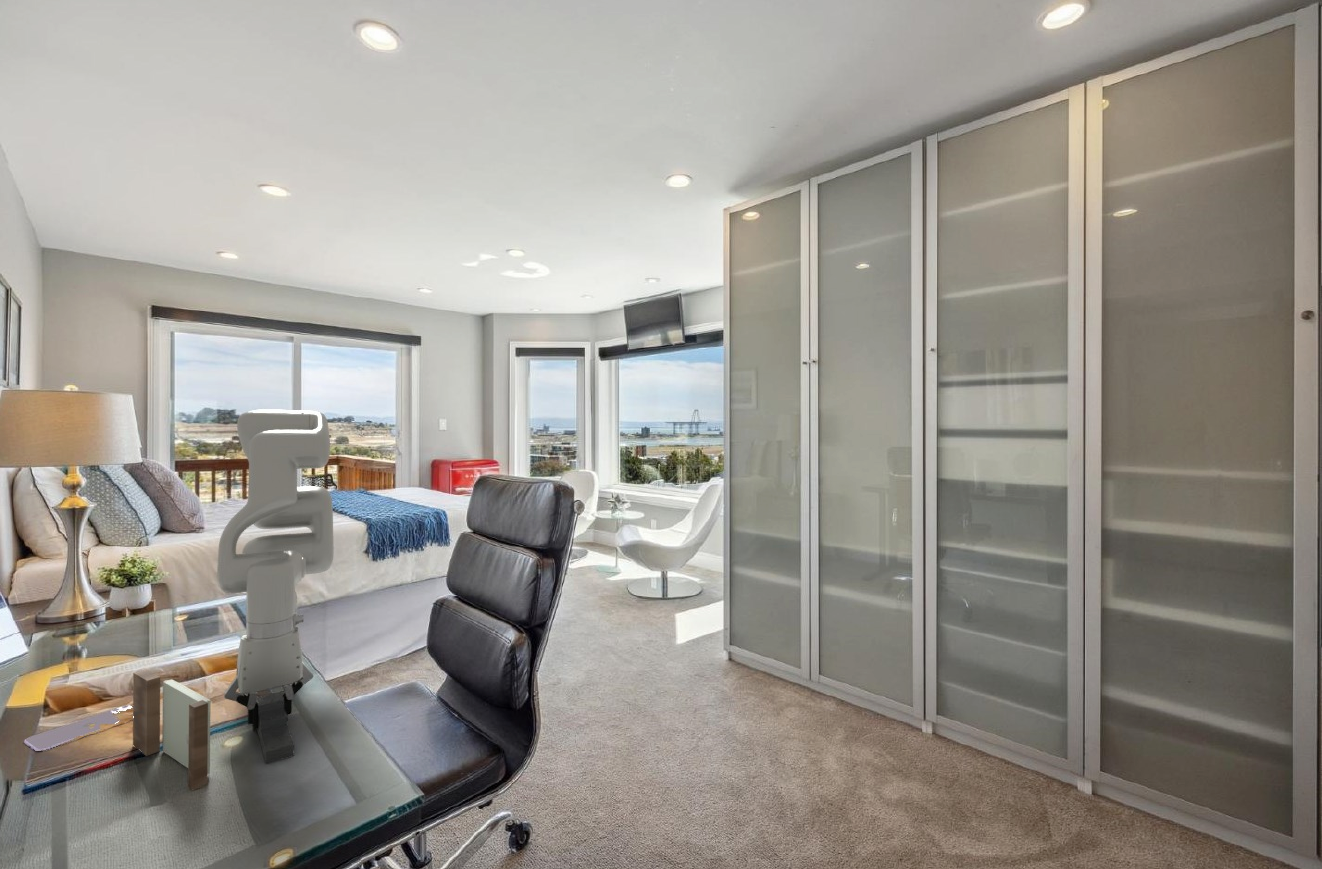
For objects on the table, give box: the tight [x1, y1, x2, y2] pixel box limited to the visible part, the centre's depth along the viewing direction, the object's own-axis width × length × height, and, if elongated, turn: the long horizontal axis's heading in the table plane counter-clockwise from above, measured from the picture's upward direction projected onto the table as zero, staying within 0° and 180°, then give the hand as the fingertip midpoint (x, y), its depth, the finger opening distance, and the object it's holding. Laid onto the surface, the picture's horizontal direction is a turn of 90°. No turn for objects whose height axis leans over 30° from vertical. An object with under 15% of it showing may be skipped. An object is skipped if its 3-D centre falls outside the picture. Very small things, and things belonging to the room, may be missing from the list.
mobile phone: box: [23, 704, 133, 752], centre depth 107 cm, size 8×1×15 cm
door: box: [161, 679, 211, 776], centre depth 96 cm, size 15×2×12 cm, turn 60°
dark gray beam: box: [256, 691, 295, 765], centre depth 104 cm, size 16×4×5 cm, turn 40°
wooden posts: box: [132, 668, 208, 791], centre depth 96 cm, size 23×2×13 cm, turn 60°
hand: (269, 721), depth 109 cm, fingers closed on dark gray beam, 4 cm apart
